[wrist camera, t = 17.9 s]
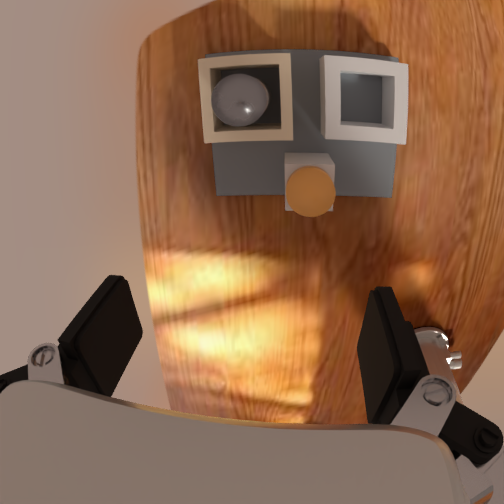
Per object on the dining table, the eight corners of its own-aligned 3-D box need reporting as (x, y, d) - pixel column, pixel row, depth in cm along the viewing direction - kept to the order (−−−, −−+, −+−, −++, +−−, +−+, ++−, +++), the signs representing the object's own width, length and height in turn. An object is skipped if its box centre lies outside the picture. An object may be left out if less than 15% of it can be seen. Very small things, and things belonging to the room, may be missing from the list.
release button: (327, 155, 31) (336, 170, 25) (326, 194, 33) (334, 217, 28) (285, 154, 31) (285, 169, 26) (286, 194, 33) (286, 216, 28)
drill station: (393, 58, 26) (416, 54, 20) (387, 193, 34) (405, 215, 28) (208, 55, 28) (191, 49, 23) (219, 191, 36) (206, 213, 31)
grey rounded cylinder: (270, 77, 28) (265, 72, 19) (272, 114, 30) (267, 125, 21) (231, 79, 28) (209, 76, 20) (233, 115, 30) (213, 128, 22)
